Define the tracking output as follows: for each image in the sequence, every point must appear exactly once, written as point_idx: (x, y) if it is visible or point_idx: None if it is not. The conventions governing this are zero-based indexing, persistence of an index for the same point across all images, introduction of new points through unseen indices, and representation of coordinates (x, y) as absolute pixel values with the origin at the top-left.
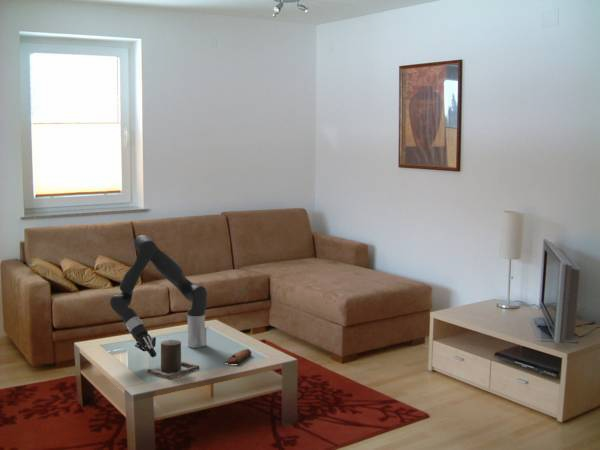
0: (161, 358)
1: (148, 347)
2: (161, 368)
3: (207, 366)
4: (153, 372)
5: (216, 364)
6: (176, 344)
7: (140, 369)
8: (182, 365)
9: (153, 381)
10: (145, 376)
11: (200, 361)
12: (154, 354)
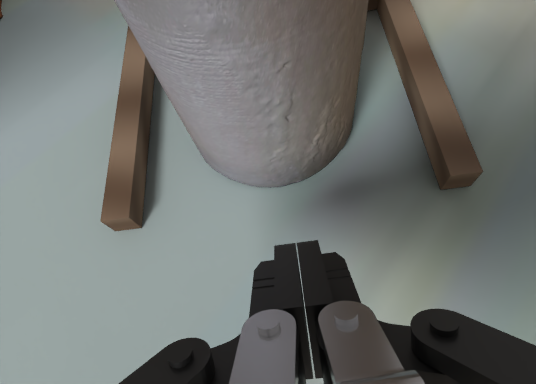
0: (360, 46)
1: (380, 333)
2: (352, 118)
3: (78, 37)
4: (450, 108)
5: (23, 33)
6: None
7: (481, 319)
8: (148, 132)
9: (515, 21)
10: (525, 126)
11: (5, 127)
12: (312, 241)
